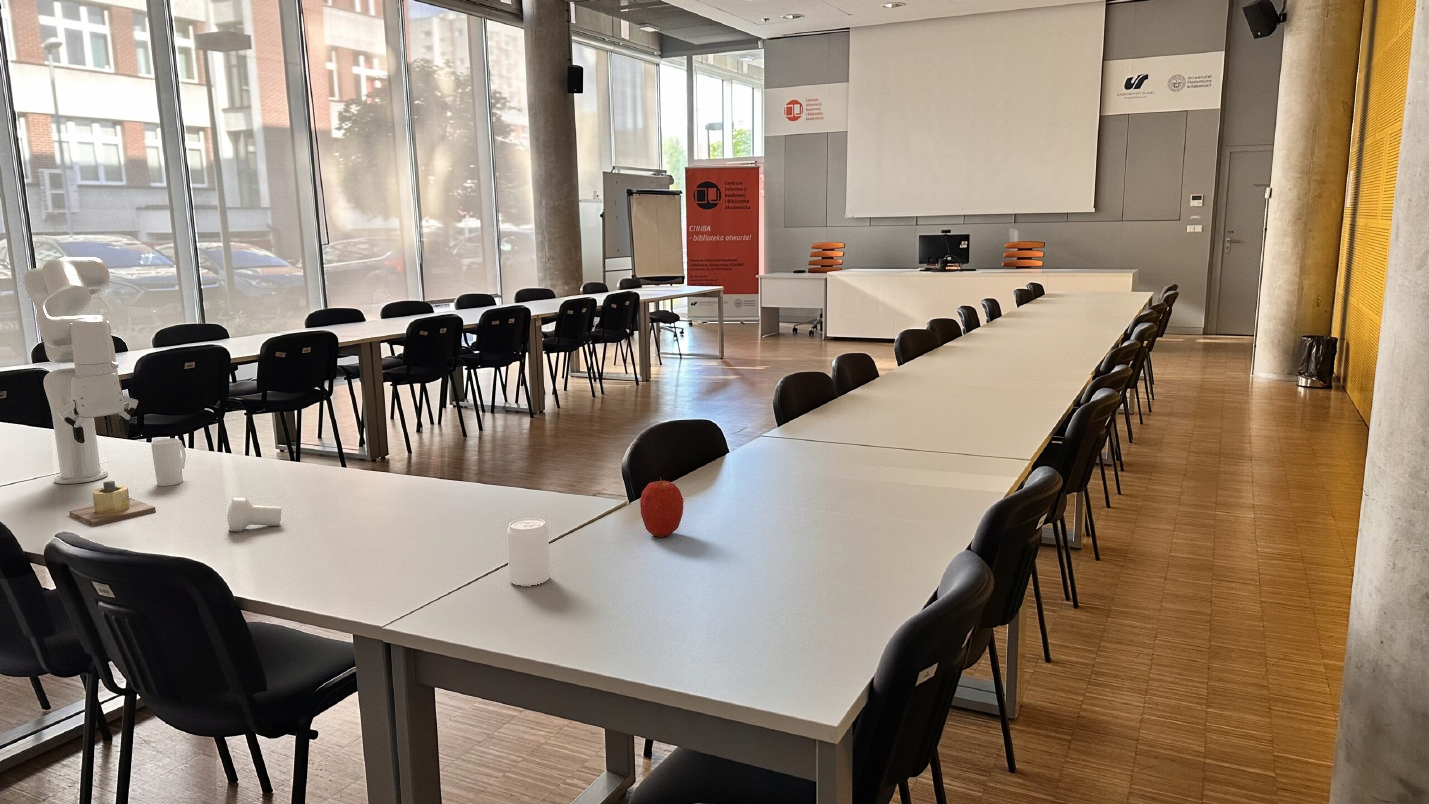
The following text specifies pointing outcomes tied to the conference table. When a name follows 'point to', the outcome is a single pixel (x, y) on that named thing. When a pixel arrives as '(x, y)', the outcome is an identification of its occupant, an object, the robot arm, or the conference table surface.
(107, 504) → the ring
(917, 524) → the conference table surface
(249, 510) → the spotlight
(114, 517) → the post block
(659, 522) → the apple
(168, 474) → the mug
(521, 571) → the beverage can
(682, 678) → the conference table surface
